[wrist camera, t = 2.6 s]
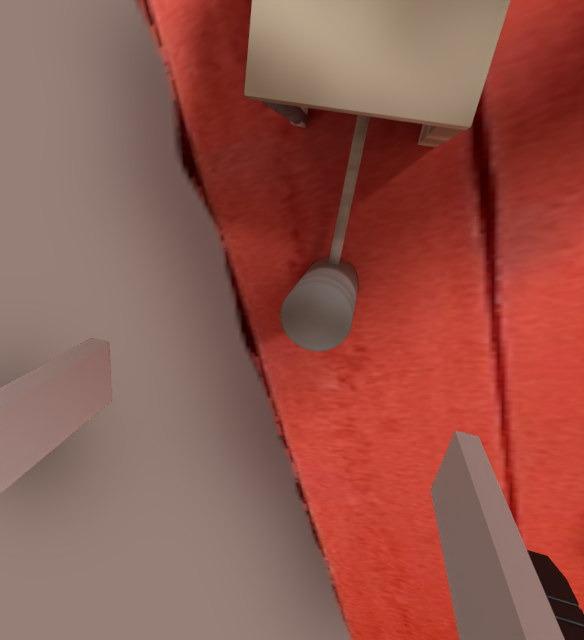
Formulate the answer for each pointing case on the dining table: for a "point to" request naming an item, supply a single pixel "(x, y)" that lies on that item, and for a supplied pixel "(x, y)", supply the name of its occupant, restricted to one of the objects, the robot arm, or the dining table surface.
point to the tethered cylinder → (328, 276)
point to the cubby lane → (374, 59)
